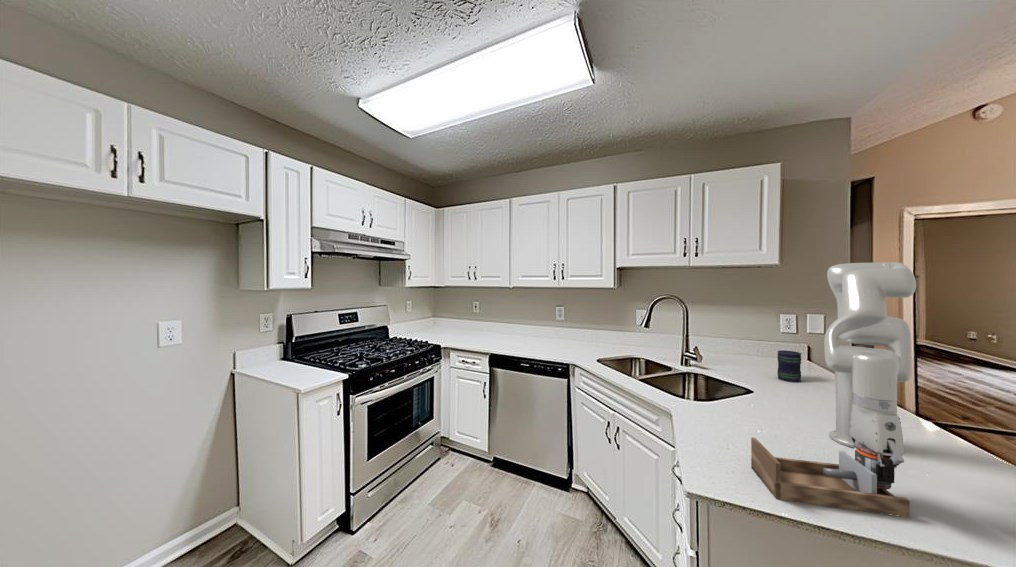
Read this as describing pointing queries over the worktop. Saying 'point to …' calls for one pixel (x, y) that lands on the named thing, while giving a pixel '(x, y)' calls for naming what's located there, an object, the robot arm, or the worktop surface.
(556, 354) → the worktop surface
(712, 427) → the worktop surface
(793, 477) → the pusher lane
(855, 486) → the pusher plate
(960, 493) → the worktop surface
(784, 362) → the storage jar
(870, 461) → the supplement bottle
